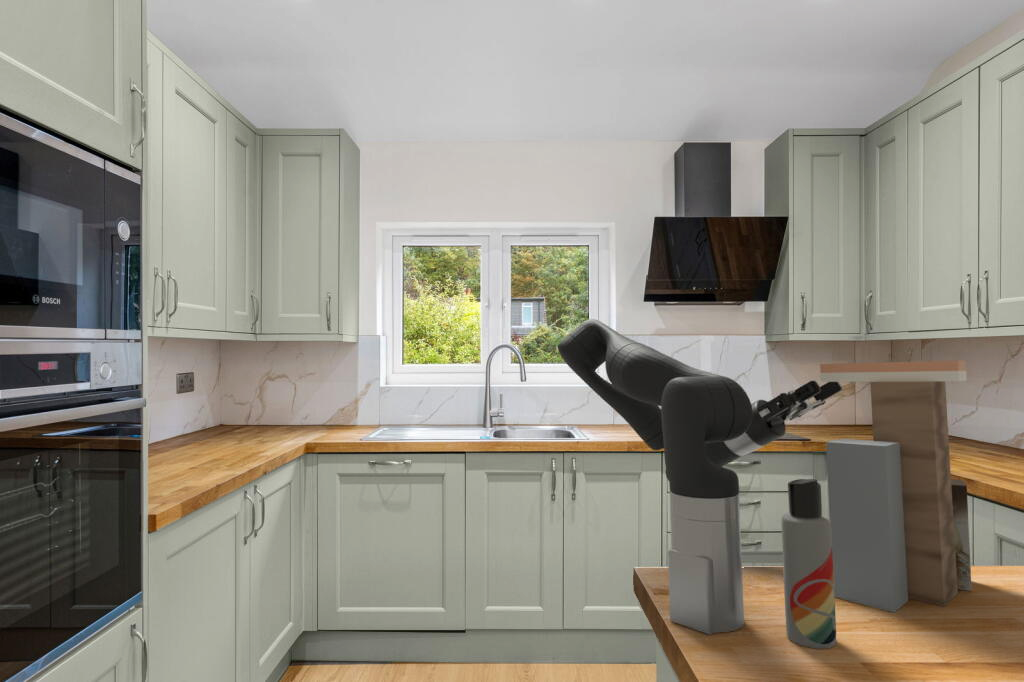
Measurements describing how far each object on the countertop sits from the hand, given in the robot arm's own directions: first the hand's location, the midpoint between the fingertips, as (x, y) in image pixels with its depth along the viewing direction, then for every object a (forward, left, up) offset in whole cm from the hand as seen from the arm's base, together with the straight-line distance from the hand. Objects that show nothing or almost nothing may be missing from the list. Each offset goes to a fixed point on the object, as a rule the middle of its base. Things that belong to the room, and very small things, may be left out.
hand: (828, 384), depth 100 cm
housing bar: (0, -9, +1) cm, 9 cm away
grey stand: (-8, -8, -31) cm, 33 cm away
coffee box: (+8, -12, -32) cm, 35 cm away
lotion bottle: (-28, -8, -32) cm, 43 cm away
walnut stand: (0, -12, -31) cm, 34 cm away
